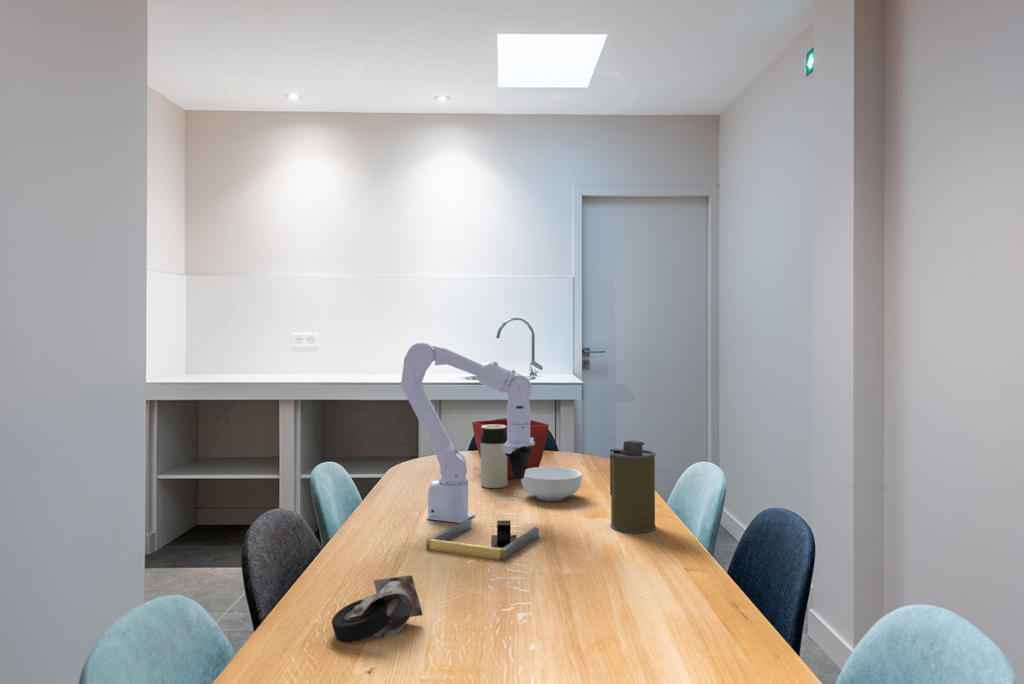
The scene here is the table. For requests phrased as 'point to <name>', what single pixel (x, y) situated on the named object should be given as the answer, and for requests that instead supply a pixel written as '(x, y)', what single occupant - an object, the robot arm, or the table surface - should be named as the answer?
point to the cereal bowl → (551, 482)
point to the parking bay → (442, 544)
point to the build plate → (502, 535)
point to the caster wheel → (379, 611)
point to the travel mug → (493, 456)
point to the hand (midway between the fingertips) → (518, 478)
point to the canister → (632, 488)
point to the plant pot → (539, 435)
